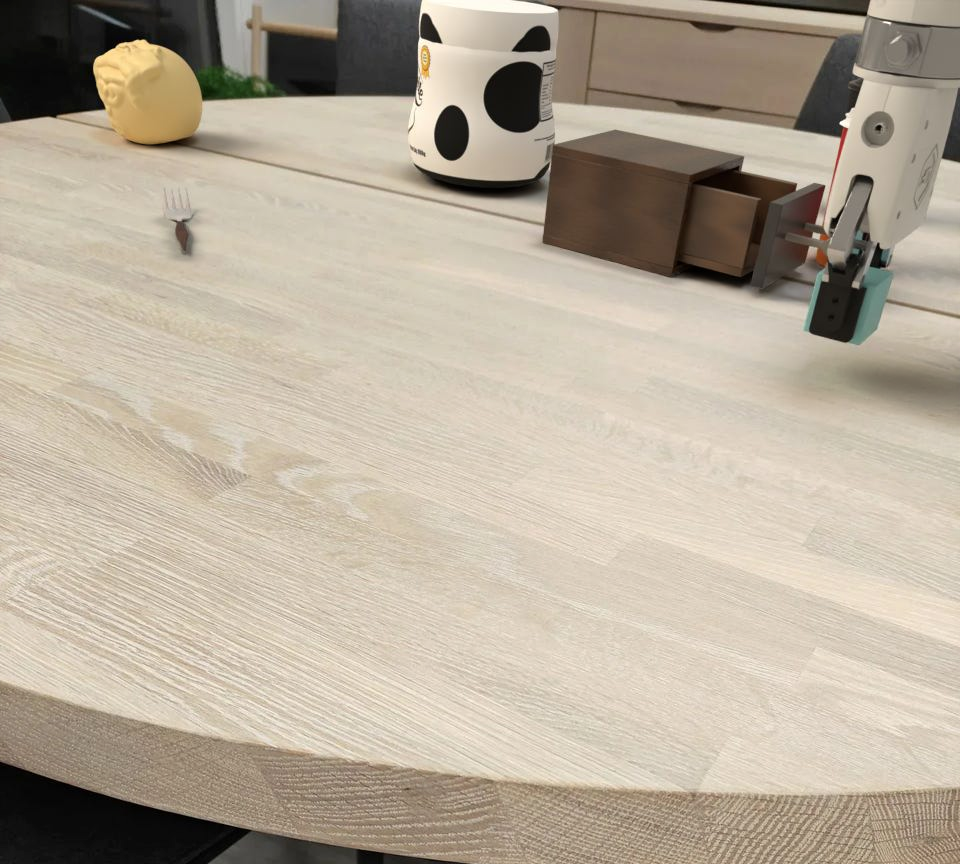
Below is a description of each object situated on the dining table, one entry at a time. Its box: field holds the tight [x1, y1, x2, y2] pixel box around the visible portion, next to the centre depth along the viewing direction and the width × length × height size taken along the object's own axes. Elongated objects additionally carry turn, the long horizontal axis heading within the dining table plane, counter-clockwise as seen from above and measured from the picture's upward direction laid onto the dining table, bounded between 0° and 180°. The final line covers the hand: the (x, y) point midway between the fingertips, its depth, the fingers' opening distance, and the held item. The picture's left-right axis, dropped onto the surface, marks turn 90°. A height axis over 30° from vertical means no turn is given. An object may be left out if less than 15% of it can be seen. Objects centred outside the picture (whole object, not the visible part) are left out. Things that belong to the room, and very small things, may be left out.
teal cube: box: [802, 267, 895, 346], centre depth 75 cm, size 4×4×4 cm
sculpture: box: [92, 39, 203, 145], centre depth 121 cm, size 11×12×11 cm
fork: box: [163, 187, 193, 252], centre depth 95 cm, size 3×16×2 cm, turn 16°
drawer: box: [677, 169, 831, 290], centre depth 95 cm, size 18×11×7 cm, turn 55°
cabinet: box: [541, 129, 745, 278], centre depth 99 cm, size 15×13×9 cm
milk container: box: [407, 0, 560, 189], centre depth 115 cm, size 17×17×18 cm
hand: (841, 325), depth 76 cm, fingers closed on teal cube, 4 cm apart
